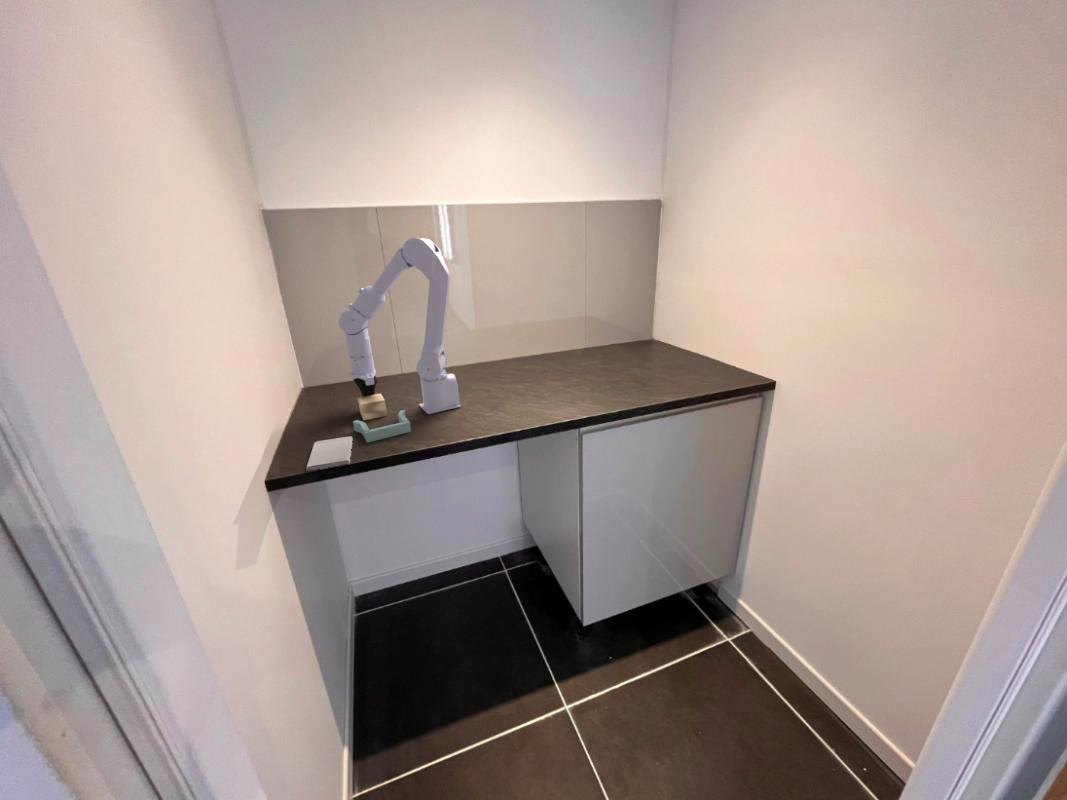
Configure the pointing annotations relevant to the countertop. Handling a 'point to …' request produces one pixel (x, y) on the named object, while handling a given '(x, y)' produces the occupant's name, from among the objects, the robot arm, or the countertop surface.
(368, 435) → the dock
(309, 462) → the hard drive
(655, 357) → the countertop surface
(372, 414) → the birch block
